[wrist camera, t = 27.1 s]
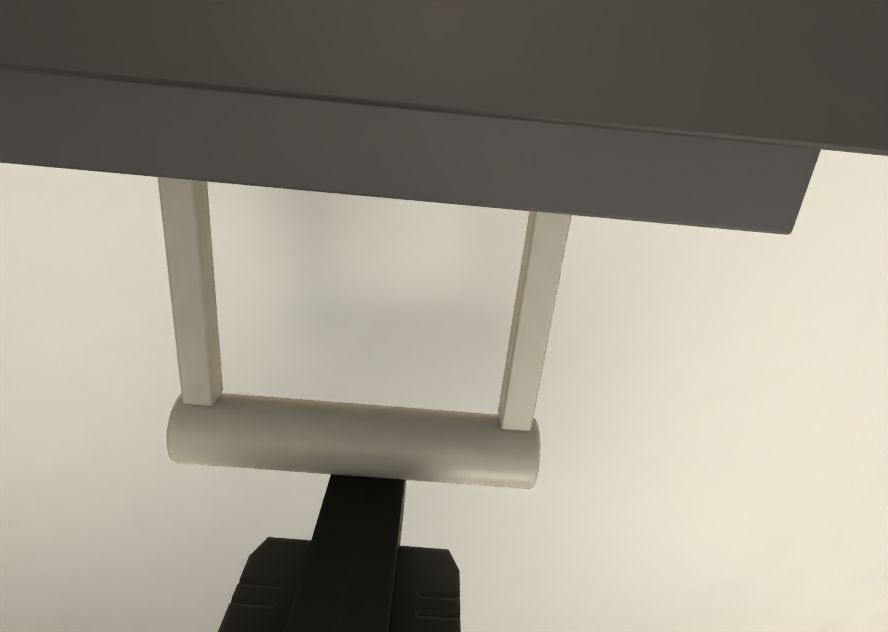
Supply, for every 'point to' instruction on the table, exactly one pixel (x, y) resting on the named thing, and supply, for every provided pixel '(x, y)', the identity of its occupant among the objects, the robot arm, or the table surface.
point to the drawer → (388, 176)
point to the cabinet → (500, 59)
